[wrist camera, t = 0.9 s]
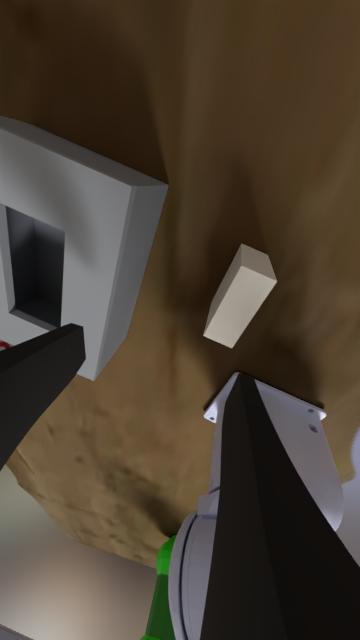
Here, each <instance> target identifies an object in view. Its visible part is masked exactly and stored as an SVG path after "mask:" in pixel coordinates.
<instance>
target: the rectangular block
mask: <svg viewBox="0 0 360 640" xmlns="http://www.w3.org/2000/svg"><path fill="white" fill-rule="evenodd" d="M276 282H277V279H276V277H275V274H274V271H273V268H272V265H271V262H270V260H269V257H268V255H267V254H265V253H262V252H260V251H258V250H255V249H253V248H251V247H249V246H246V245H244V244H242V243H241V245H240V247H239V249H238V251H237V253H236V255H235V257H234V259H233V261H232V263H231V265H230V267H229V269H228V271H227V273H226V275H225V276H224V278H223V280H222V282H221V284H220V286H219V288H218V290H217V292H216V294H215V296H214V298H213V300H212V302H211V306H210V310H209V314H208V318H207V322H206V326H205V330H204V334H203V336H205V337H207V338H209V339H211V340H214V341H216V342H218V343H221V344H223V345H225V346H227V347H230V348H233V346H234V345H235V343H236V342H237V340H238V339H239V337H240V336H241V334H242V333H243V331H244V330H245V328H246V327H247V325H248V324H249V322H250V321H251V319H252V318H253V316H254V315H255V314H256V312H257V311H258V309H259V308H260V306H261V305H262V303H263V302H264V300H265V299H266V297H267V296H268V294H269V293H270V291H271V290H272V288H273V287H274V285H275V284H276Z"/></svg>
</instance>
